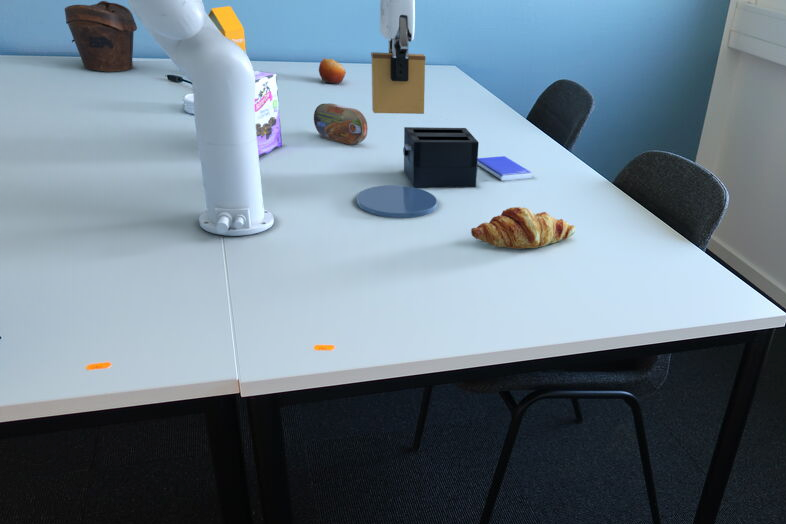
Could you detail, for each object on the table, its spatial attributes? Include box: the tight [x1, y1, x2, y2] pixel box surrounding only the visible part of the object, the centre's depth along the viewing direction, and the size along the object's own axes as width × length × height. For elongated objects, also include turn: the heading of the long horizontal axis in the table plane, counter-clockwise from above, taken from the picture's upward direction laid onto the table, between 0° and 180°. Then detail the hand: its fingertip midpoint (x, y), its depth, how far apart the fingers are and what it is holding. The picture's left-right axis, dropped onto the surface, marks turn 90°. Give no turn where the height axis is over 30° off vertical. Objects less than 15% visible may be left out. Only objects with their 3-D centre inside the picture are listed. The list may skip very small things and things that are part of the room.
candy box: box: [254, 70, 283, 158], centre depth 167 cm, size 14×6×16 cm, turn 168°
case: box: [64, 0, 138, 72], centre depth 217 cm, size 18×20×18 cm
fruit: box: [318, 58, 346, 85], centre depth 233 cm, size 8×8×8 cm
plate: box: [356, 184, 438, 219], centre depth 152 cm, size 16×16×1 cm
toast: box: [370, 51, 426, 115], centre depth 140 cm, size 2×10×10 cm, turn 109°
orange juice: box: [207, 5, 247, 54], centre depth 219 cm, size 8×9×20 cm
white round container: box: [182, 92, 194, 115], centre depth 193 cm, size 10×10×4 cm
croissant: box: [470, 206, 577, 250], centre depth 141 cm, size 21×10×8 cm, turn 114°
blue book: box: [477, 155, 533, 182], centre depth 177 cm, size 2×8×12 cm
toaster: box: [402, 126, 479, 189], centre depth 165 cm, size 11×15×10 cm
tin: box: [313, 102, 368, 146], centre depth 182 cm, size 15×3×8 cm, turn 62°
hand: (398, 78), depth 140 cm, fingers closed on toast, 2 cm apart
